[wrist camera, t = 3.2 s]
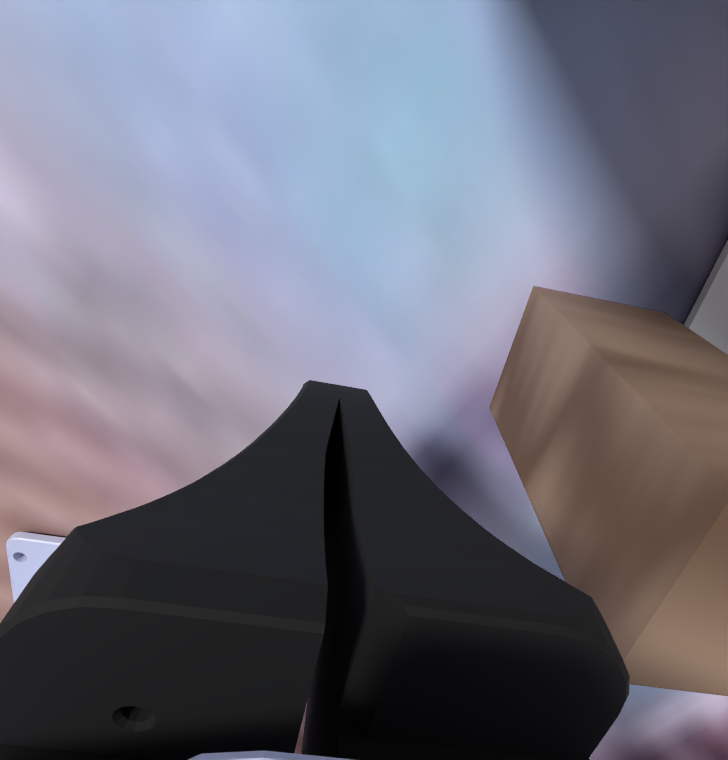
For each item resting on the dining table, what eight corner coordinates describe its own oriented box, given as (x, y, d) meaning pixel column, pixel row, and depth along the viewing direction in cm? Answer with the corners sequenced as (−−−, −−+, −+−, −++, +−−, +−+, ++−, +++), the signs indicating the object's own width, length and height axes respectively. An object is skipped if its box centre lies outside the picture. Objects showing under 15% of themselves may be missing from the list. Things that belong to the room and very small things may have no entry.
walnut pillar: (608, 428, 19) (825, 707, 10) (489, 407, 19) (609, 682, 10) (665, 313, 17) (996, 536, 8) (533, 285, 17) (733, 493, 8)
